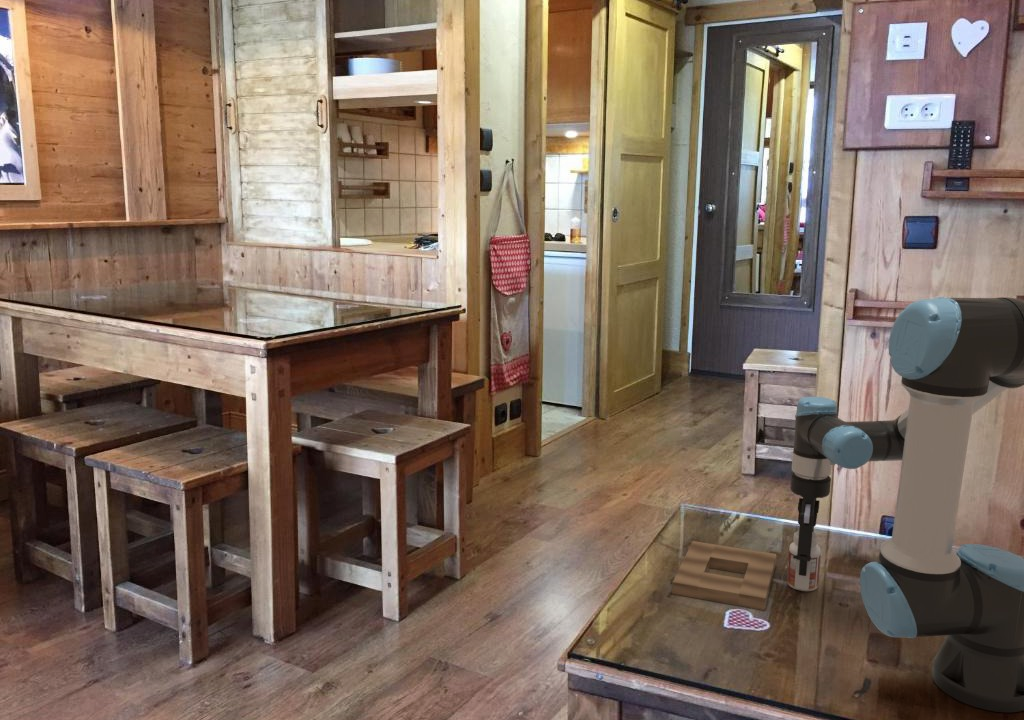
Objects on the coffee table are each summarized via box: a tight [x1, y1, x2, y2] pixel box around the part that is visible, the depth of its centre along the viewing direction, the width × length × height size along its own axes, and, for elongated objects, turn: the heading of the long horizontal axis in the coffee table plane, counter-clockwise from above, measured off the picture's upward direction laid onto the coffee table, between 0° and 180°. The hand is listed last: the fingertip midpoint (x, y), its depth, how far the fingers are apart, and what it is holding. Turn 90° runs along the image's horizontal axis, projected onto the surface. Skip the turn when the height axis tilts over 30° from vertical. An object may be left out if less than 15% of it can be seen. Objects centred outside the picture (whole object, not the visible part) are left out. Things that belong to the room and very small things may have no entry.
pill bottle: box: [786, 530, 822, 592], centre depth 178 cm, size 6×6×11 cm
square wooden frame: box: [671, 540, 777, 611], centre depth 182 cm, size 22×18×2 cm
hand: (802, 581), depth 179 cm, fingers closed on pill bottle, 6 cm apart
